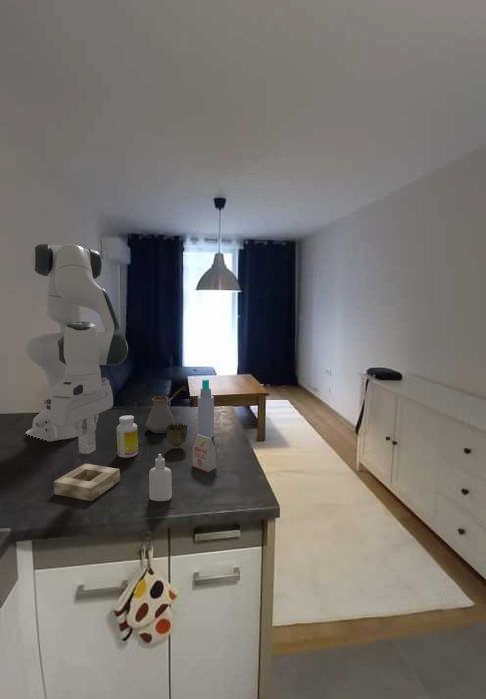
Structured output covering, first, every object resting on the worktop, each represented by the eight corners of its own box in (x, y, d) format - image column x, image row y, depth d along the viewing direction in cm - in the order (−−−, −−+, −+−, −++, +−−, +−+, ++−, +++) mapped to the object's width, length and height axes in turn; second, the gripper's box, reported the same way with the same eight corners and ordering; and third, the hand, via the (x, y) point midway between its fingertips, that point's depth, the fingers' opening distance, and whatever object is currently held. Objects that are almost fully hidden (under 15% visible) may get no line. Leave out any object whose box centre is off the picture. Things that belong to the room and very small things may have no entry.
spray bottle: (206, 440, 142) (206, 382, 139) (194, 437, 146) (194, 380, 143) (217, 436, 147) (217, 379, 144) (205, 432, 150) (205, 377, 148)
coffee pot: (161, 436, 146) (161, 398, 144) (139, 431, 151) (138, 394, 149) (196, 421, 164) (195, 387, 162) (175, 417, 170) (174, 384, 168)
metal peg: (79, 452, 104) (77, 416, 103) (86, 448, 107) (84, 413, 106) (88, 453, 103) (86, 417, 102) (95, 449, 106) (94, 414, 105)
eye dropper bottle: (159, 491, 104) (158, 449, 102) (174, 497, 101) (173, 453, 99) (147, 498, 100) (145, 454, 99) (162, 505, 97) (161, 459, 96)
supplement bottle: (142, 452, 131) (141, 415, 129) (130, 459, 125) (129, 421, 123) (125, 449, 133) (124, 413, 132) (113, 456, 127) (111, 419, 125)
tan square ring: (54, 493, 103) (53, 481, 102) (85, 474, 114) (84, 463, 113) (91, 501, 99) (91, 488, 98) (120, 480, 110) (119, 469, 110)
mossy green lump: (183, 453, 130) (182, 430, 129) (162, 451, 132) (162, 428, 131) (190, 445, 137) (190, 423, 136) (171, 443, 139) (170, 422, 138)
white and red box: (200, 462, 123) (199, 432, 122) (215, 468, 119) (215, 437, 118) (191, 466, 120) (191, 435, 119) (207, 472, 116) (207, 440, 115)
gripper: (99, 375, 113) (101, 420, 115) (44, 390, 94) (48, 444, 96) (117, 376, 112) (119, 422, 113) (65, 392, 92) (68, 447, 94)
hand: (86, 433), depth 104 cm, fingers closed on metal peg, 3 cm apart
